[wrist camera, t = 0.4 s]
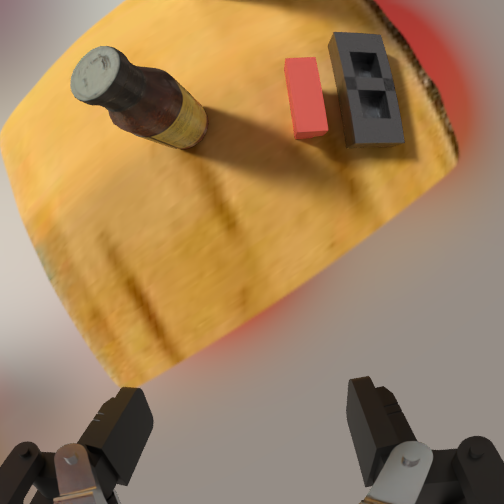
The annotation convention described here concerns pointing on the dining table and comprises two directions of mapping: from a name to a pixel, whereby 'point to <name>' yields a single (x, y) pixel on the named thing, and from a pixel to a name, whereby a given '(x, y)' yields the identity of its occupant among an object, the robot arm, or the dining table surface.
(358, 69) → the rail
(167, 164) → the dining table surface
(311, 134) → the red block
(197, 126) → the sauce bottle
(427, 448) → the robot arm
